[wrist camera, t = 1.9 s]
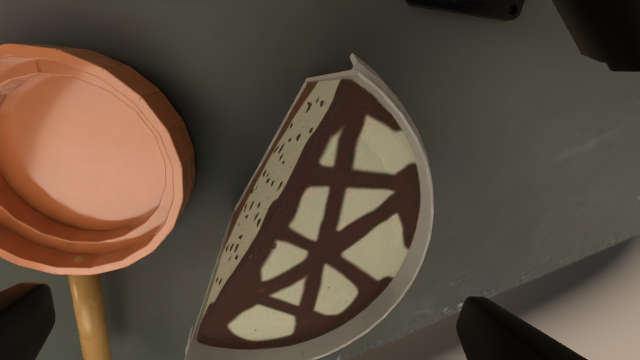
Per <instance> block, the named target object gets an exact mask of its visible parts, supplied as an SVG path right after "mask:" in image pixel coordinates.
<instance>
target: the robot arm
mask: <svg viewBox="0 0 640 360" xmlns="http://www.w3.org/2000/svg"><path fill="white" fill-rule="evenodd" d="M406 2H407V4H408V5H411V6H415V7H421V8H427V9H434V10H440V11H446V12H452V13H459V14H465V15H471V16H478V17H484V18H490V19H497V20H503V21H509V20H514V19H516V18H517V17H518V16H519V15H520V13H521V10H522V7H523V4H524V0H406ZM552 2H553V3H554V5H555V7H556V9H557V11H558V12H559V14H560V16H561V18H562V20H563V21H564V23H565V25H566V27H567V28H568V30H569V32H570V34H571V36H572V37H573V39H574V41H575V43H576V45H577V46H578V48H579V50H580V52H581V54H582V55H585V56H587V57H589V58H592V59H594V60H597V61H599V62H605V63H606V64H607V65H608V67H609V69H610V70H611V71H631V72H640V0H552ZM510 6H511V7H512V13H511V14H509V12H508V10H509V7H510ZM54 323H55V310H54V304H53V299H52V294H51V289H50V287H49V285H48V284H46V283H35V282H24V283H19V284H17V285H15V286H13V287H10V288H8V289H6V290H4V291H1V292H0V360H35V359H36V357H37V355H38V354H39V352H40V350H41V348H42V346H43V345H44V343H45V341H46V339H47V337H48V336H49V334H50V332H51V330H52V328H53V326H54ZM456 328H457V333H458V336H459V339H460V342H461V344H462V347H463V349H464V352H465V355H466V357H467V360H587V359H586V358H584V357H582V356H581V355H579V354H577V353H576V352H574V351H573V350H571V349H569V348H568V347H566V346H564V345H562V344H561V343H559V342H558V341H556V340H554V339H553V338H551V337H549V336H548V335H546V334H544V333H543V332H541V331H540V330H538V329H537V328H535V327H533V326H532V325H530V324H528V323H526V322H525V321H523V320H522V319H520V318H519V317H517V316H515V315H514V314H512V313H510V312H509V311H507V310H505V309H503V308H502V307H501V306H499V305H497V304H496V303H494V302H492V301H491V300H489V299H487V298H485V297H475V296H470V297H467V298H466V299H465V301H464V304H463V306H462V309H461V312H460V314H459V317H458V320H457V325H456Z"/></svg>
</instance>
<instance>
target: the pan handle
mask: <svg viewBox="0 0 640 360" xmlns="http://www.w3.org/2000/svg"><path fill="white" fill-rule="evenodd" d="M88 259H89V256H88V255H80V256H77V257H76V258H74V260H73V261H74V262H77V263H79V262H84V261H86V260H88ZM68 279H69V284H70V290H71V295H72V300H73V305H74V311H75V316H76V321H77V326H78V332H79V337H80V342H81V347H82V353H83V358H84V360H112V355H111V349H110V342H109V335H108V328H107V322H106V315H105V308H104V301H103V295H102V288H101V281H100V274H96V275H68Z"/></svg>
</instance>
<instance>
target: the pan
mask: <svg viewBox="0 0 640 360" xmlns="http://www.w3.org/2000/svg"><path fill="white" fill-rule="evenodd" d="M194 184H195V153H194V148H193V145H192V143H191V140H190V137H189V134H188V132H187V129H186V126H185V123H184V121H183V120H182V118H181V117H180V116H179V114H178V113H177V111H176V110H175V109H174V107H173V106H172V105H171V103H170V102H169V101H168V99H167V98H166V97H165V95H164V94H163V93H162V92H160V89H158V88H157V87H156V86H154V85H153V84H152V83H151V82H149V81H148V80H147V79H145V78H144V77H143V76H142V75H140V74H139V73H138V72H136V71H135V70H134V69H132V68H131V67H130V66H128V65H126V64H123V63H121V62H119V61H116V60H114V59H111V58H109V57H107V56H104V55H102V54H99V53H97V52H95V51H92V50H88V49H81V48H73V47H64V46H55V45H41V44H17V43H6V44H2V45H0V257H2V258H4V259H6V260H8V261H10V262H12V263H14V264H16V265H19V266H23V267H27V268H31V269H35V270H39V271H43V272H47V273H51V274H57V275H96V274H100V273H104V272H109V271H113V270H117V269H121V268H125V267H128V266H129V265H131V264H133V263H135V262H136V261H138V260H140V259H142V258H143V257H145V256H147V255H149V254H150V253H152V252H153V251H155V250H156V249H157V247H158V246H159V245H160V244H161V243H162V242H163V240H164V239H165V238H166V237H167V236H168V235H169V233H170V232H171V231H172V230H173V229H174V227H175V225H176V224H177V222H178V220H179V218H180V217H181V215H182V213H183V212H184V210H185V208H186V207H187V204H188V201H189V198H190V195H191V193H192V190H193V187H194ZM80 255H88V256H89V259H88V260H86V261H84V262H79V263H77V262H74V261H73V260H74V258H76V257H77V256H80Z"/></svg>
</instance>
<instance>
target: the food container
mask: <svg viewBox="0 0 640 360" xmlns="http://www.w3.org/2000/svg"><path fill="white" fill-rule="evenodd" d="M350 59H351V62H352V64H353V68H352V70H348V71H342V72H337V73H331V74H326V75H320V76H315V77H309V78H307V79H306V80H305V82H304V84H303V86H302V88H301V89H300V91H299V93H298V95H297V97H296V98H295V100H294V102H293V104H292V106H291V107H290V109H289V111H288V113H287V115H286V116H285V118H284V120H283V122H282V124H281V125H280V127H279V129H278V131H277V133H276V134H275V136H274V138H273V140H272V142H271V143H270V145H269V147H268V149H267V151H266V152H265V154H264V156H263V158H262V160H261V161H260V163H259V165H258V167H257V169H256V170H255V172H254V174H253V176H252V178H251V179H250V181H249V183H248V185H247V187H246V188H245V190H244V192H243V194H242V196H241V197H240V199H239V201H238V203H237V205H236V206H235V208H234V210H233V212H232V215H231V218H230V221H229V224H228V227H227V230H226V233H225V236H224V239H223V242H222V245H221V249H220V252H219V255H218V258H217V261H216V264H215V267H214V270H213V273H212V276H211V279H210V282H209V285H208V288H207V291H206V294H205V298H204V301H203V304H202V307H201V310H200V313H199V316H198V319H197V322H196V325H195V326H193V327H192V329H191V332H190V336H189V340H188V344H187V348H186V352H185V353H186V356H185V360H315V359H318V358H321V357H324V356H327V355H329V354H331V353H333V352H335V351H337V350H339V349H341V348H343V347H345V346H347V345H349V344H350V343H352V342H353V341H355V340H356V339H358V338H359V337H361V336H362V335H364V334H366V333H367V332H368V331H369V330H371V329H372V328H373V327H374V326H375V325H377V324H378V323H379V322H380V321H381V320H382V319H384V318H385V317H386V316H387V315H388V313H389V312H390V311H391V310H392V309H393V308H394V307H395V306H396V305H397V304H398V302H399V301H400V300H401V299H402V297H403V296H404V294H405V293H406V291H407V290H408V289H409V287H410V286H411V284H412V283H413V281H414V279H415V277H416V275H417V273H418V271H419V269H420V267H421V265H422V263H423V261H424V257H425V254H426V251H427V248H428V244H429V241H430V238H431V231H432V223H433V216H434V204H433V184H432V175H431V171H430V166H429V161H428V156H427V152H426V150H425V147H424V145H423V142H422V140H421V137H420V135H419V132H418V130H417V128H416V126H415V124H414V123H413V121H412V120H411V118H410V116H409V115H408V113H407V111H406V110H405V108H404V107H403V105H402V103H401V102H400V101H399V99H398V98H397V96H396V95H395V94H394V92H393V91H392V90H391V89H390V88H389V87H388V85H387V84H386V83H385V82H384V81H383V80H382V79H381V78H380V77H379V75H378V74H377V73H376V72H375V71H374V70H373V69H372V68H371V67H369V66H368V65H367V64H366V63H364V62H363V61H362V60H361V59H359V58H358V57H357V56H356V55H354V54H353V53H352V54H351V55H350Z"/></svg>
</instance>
